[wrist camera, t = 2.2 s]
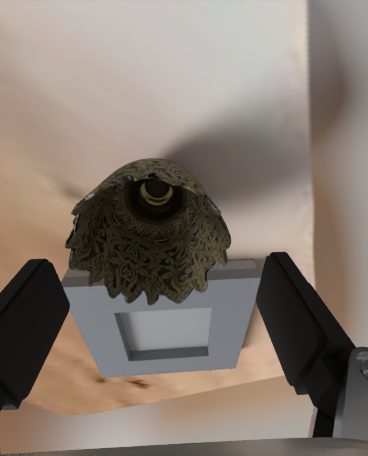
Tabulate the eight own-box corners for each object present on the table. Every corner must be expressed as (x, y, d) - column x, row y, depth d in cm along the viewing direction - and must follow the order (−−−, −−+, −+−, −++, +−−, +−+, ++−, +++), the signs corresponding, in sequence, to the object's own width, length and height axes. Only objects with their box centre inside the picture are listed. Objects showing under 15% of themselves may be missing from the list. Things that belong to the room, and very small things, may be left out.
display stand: (68, 267, 20) (57, 287, 18) (253, 259, 21) (262, 277, 19) (107, 358, 30) (103, 377, 28) (231, 350, 31) (235, 368, 29)
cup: (129, 112, 13) (92, 140, 7) (224, 167, 16) (265, 227, 9) (94, 205, 17) (47, 284, 10) (176, 238, 19) (181, 320, 13)
